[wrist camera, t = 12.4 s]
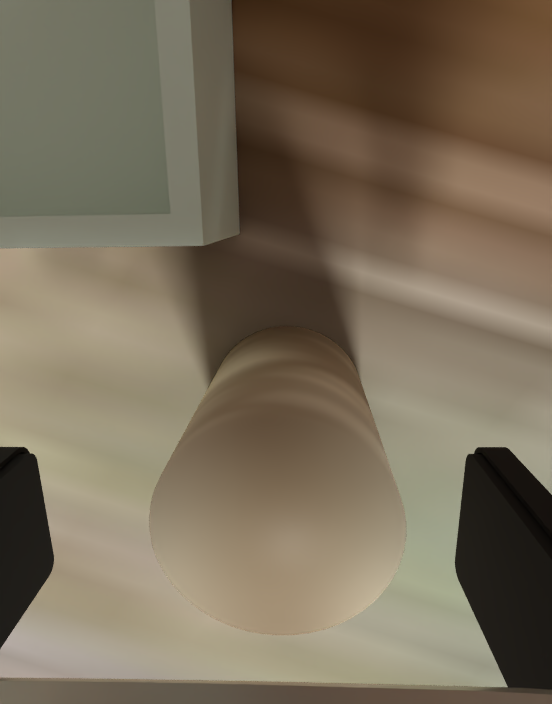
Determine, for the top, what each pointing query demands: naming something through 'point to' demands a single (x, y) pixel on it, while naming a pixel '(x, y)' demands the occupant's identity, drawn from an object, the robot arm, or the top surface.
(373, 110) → the top surface
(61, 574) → the top surface
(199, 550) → the birch cylinder
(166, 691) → the robot arm
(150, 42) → the sage tote
